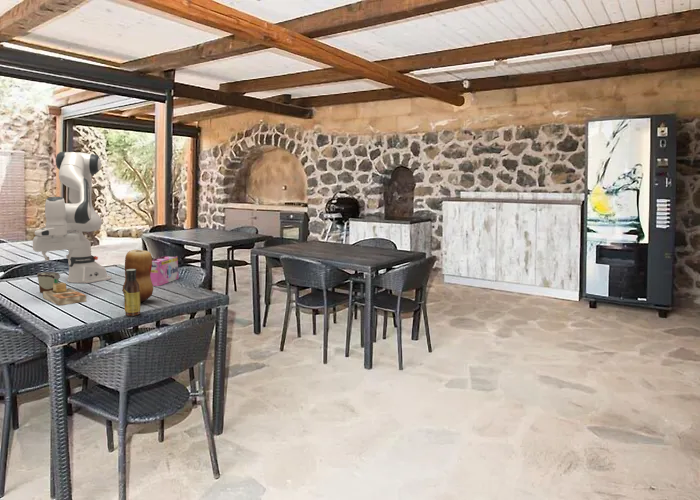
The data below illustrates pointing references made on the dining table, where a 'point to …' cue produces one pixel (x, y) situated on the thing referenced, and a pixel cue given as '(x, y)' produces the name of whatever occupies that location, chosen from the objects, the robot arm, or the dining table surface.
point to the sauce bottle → (131, 294)
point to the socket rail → (64, 297)
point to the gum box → (164, 270)
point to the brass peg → (59, 287)
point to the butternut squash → (140, 271)
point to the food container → (47, 280)
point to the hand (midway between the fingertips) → (58, 259)
